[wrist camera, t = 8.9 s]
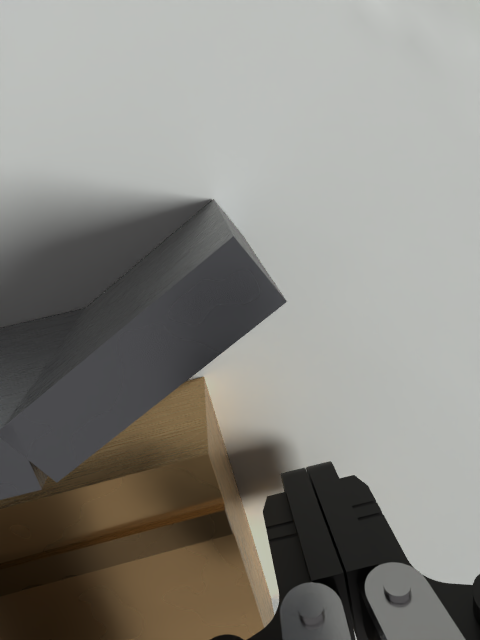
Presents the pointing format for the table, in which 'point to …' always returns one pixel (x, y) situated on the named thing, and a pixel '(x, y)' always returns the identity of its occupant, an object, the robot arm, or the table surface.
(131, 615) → the block
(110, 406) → the coupler dock
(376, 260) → the table surface
